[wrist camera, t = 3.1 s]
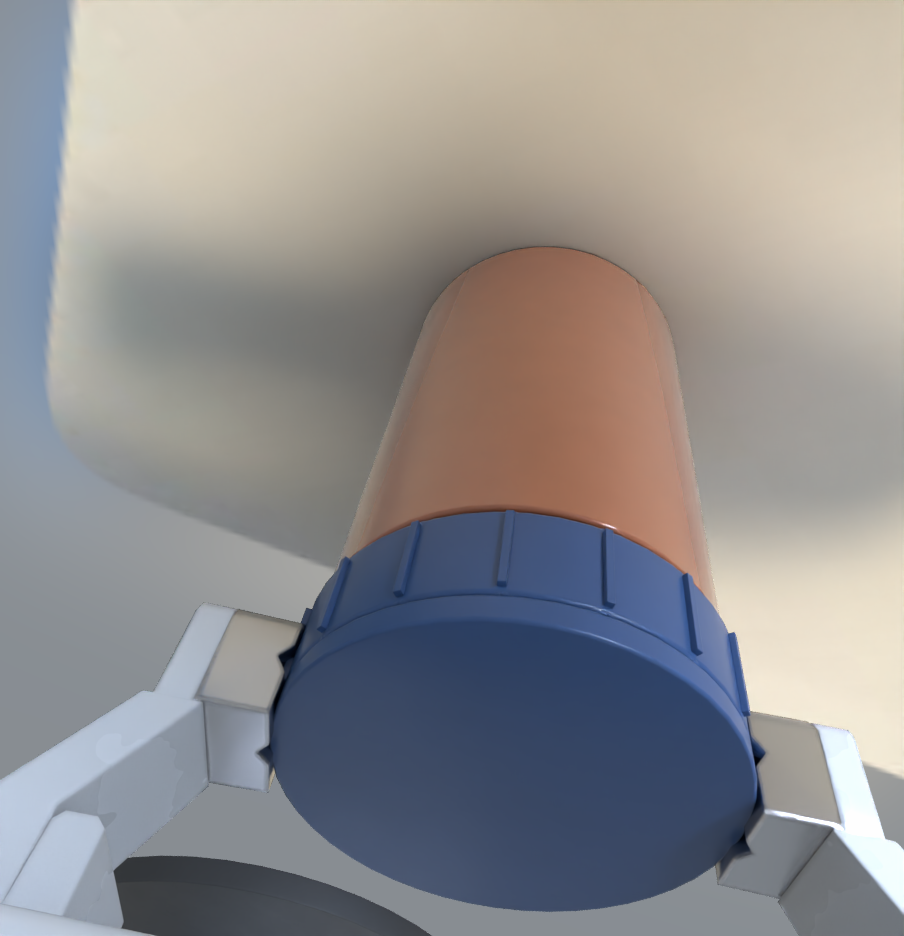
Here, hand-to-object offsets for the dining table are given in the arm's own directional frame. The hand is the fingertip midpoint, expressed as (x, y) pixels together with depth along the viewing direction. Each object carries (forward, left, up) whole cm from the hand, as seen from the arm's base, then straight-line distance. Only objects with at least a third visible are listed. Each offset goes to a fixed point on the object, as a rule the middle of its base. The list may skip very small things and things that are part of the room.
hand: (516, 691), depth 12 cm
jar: (0, 0, -10) cm, 10 cm away
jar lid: (0, 0, +1) cm, 1 cm away
